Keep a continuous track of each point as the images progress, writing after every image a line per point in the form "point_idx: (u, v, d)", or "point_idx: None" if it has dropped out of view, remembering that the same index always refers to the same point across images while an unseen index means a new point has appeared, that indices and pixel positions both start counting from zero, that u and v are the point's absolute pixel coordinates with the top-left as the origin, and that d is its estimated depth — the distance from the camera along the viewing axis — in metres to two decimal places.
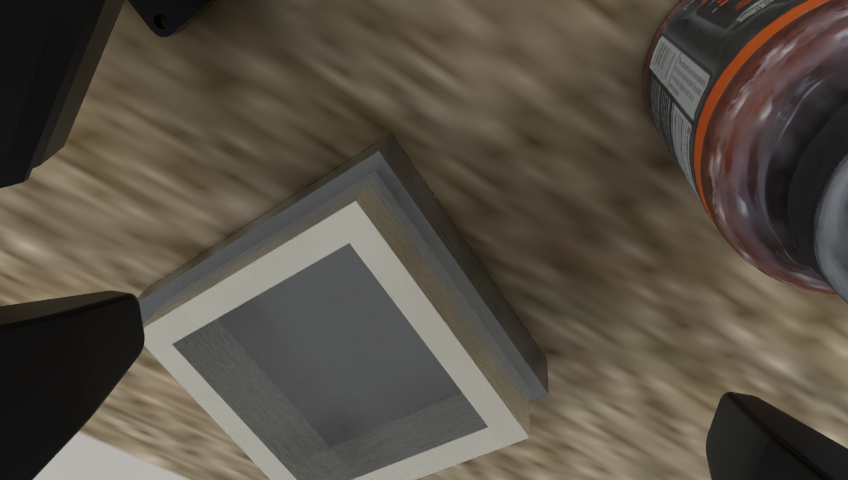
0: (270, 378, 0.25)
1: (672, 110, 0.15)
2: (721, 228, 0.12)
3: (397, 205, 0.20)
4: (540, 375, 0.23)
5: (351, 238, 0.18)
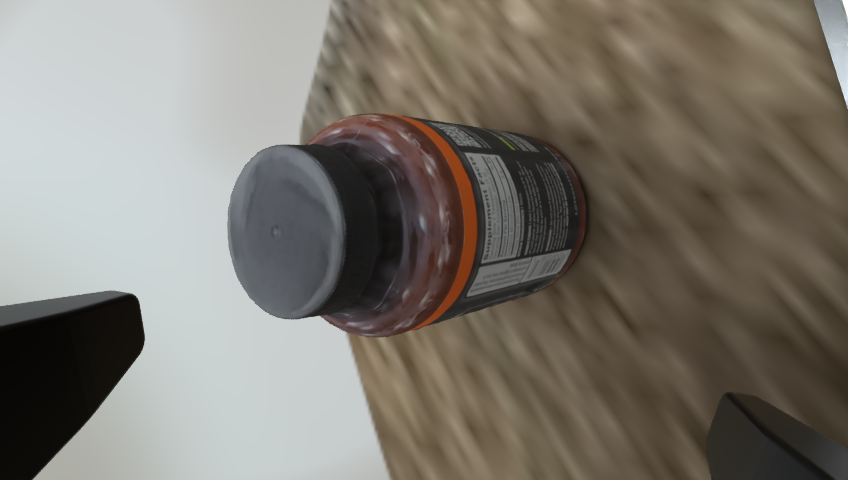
0: None
1: (519, 249, 0.17)
2: (446, 194, 0.14)
3: None
4: None
5: None
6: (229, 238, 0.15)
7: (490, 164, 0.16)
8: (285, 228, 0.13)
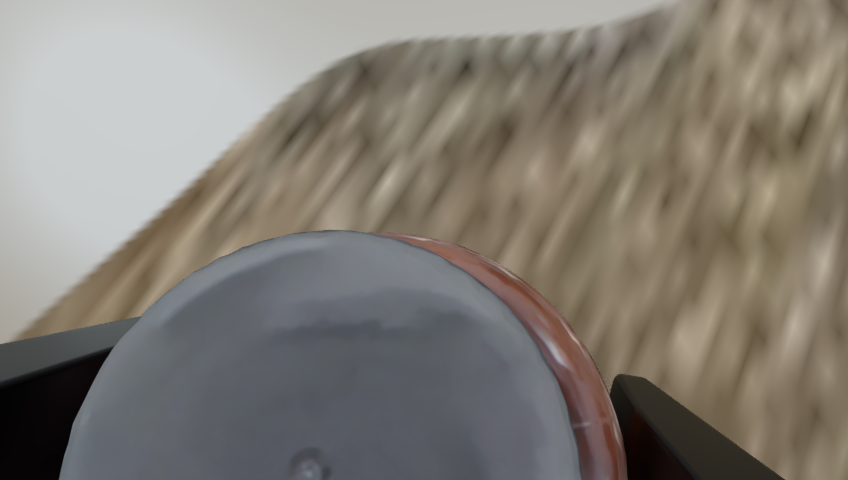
0: None
1: None
2: None
3: None
4: None
5: None
6: (214, 276, 0.05)
7: None
8: None
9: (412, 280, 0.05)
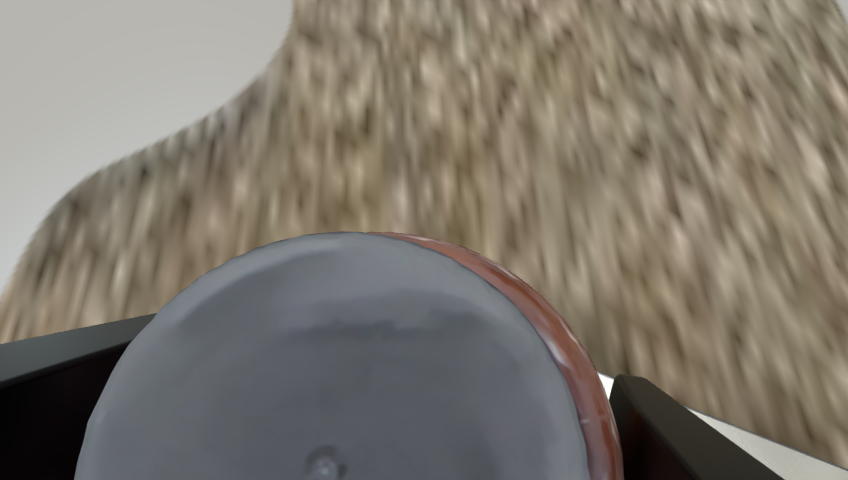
0: None
1: None
2: None
3: None
4: None
5: None
6: (228, 277, 0.05)
7: None
8: None
9: (424, 282, 0.05)
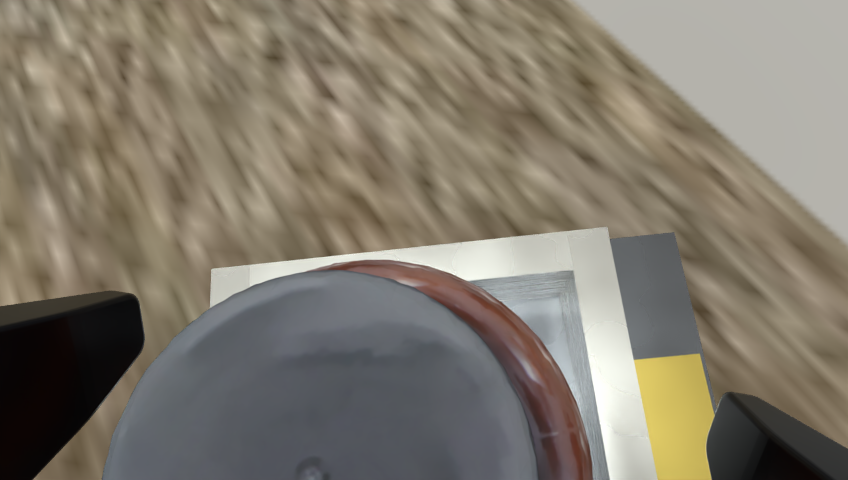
0: None
1: None
2: None
3: None
4: None
5: None
6: (231, 310, 0.06)
7: None
8: None
9: (399, 314, 0.06)
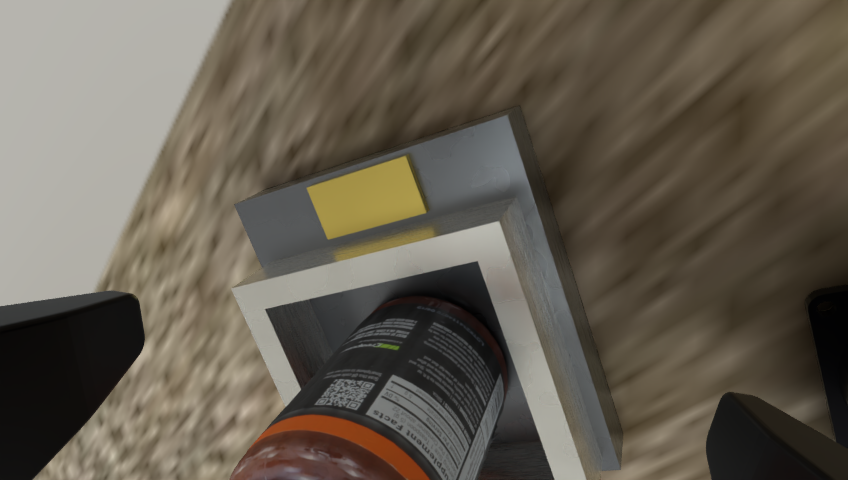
0: None
1: (467, 437, 0.17)
2: None
3: None
4: None
5: None
6: None
7: (393, 397, 0.16)
8: None
9: None
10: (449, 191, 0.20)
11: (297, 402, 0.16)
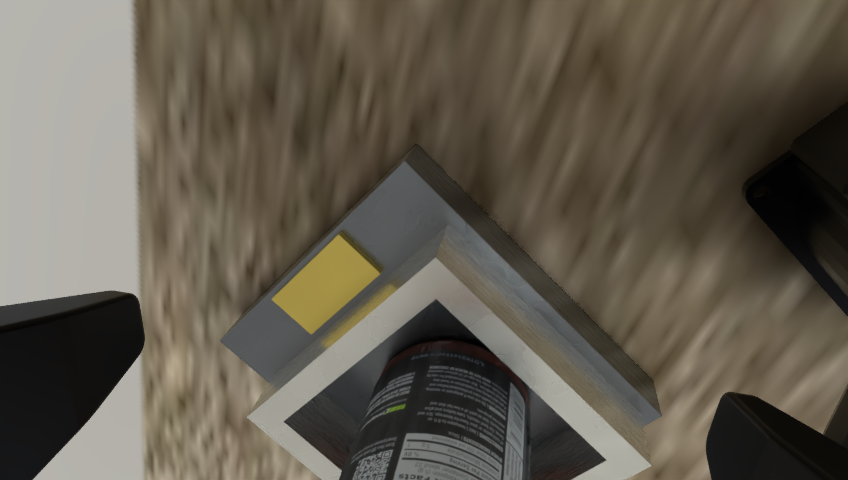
0: None
1: (497, 457, 0.18)
2: None
3: None
4: None
5: (611, 461, 0.20)
6: None
7: (413, 454, 0.17)
8: None
9: None
10: (391, 246, 0.21)
11: None
